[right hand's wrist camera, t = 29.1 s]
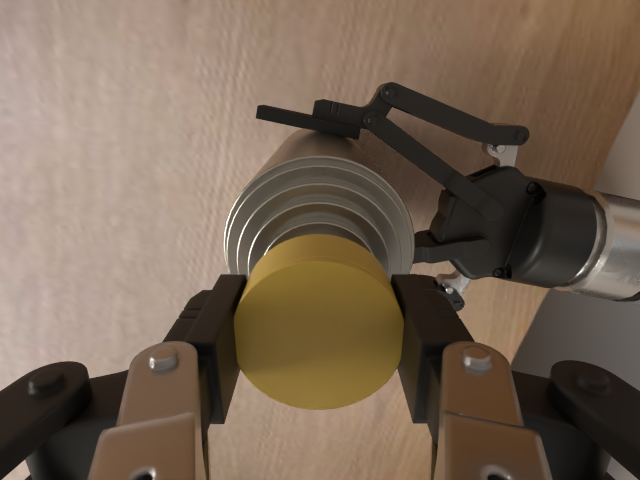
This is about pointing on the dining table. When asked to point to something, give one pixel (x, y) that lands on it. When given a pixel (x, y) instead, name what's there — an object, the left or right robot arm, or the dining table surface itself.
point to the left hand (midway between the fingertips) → (251, 176)
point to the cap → (318, 323)
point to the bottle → (319, 204)
